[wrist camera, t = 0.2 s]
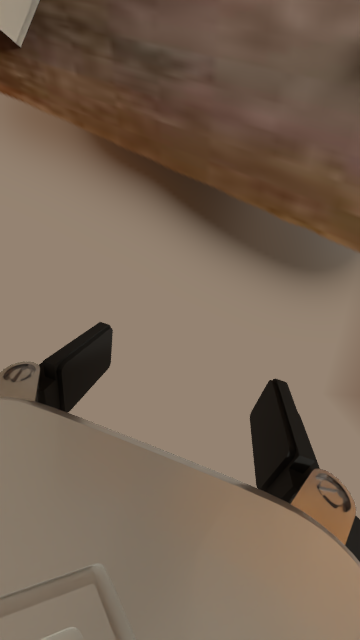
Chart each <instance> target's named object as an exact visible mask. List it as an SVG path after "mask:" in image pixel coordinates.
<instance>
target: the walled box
mask: <svg viewBox="0 0 360 640" xmlns="http://www.w3.org/2000/svg"><path fill="white" fill-rule="evenodd" d="M39 1H40V0H0V30H1V31H2V32H4V33H5V34H6V35H7V36H8V37H9V38H10V39H12V40H13V41H14V42H15V43H16V44H17V45H18V46H20V47H21V45H22V43H23V40H24V38H25V35H26V33H27V30H28V28H29V25H30V23H31V20H32V18H33V16H34V13H35V11H36V8H37V6H38V3H39Z"/></svg>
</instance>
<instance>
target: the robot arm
mask: <svg viewBox="0 0 360 640" xmlns="http://www.w3.org/2000/svg"><path fill="white" fill-rule="evenodd" d="M112 331H113V330H112V328H111V327H110V325H108V324H105V323H102V322H100V323H98V324H97V325H95V326H94V327H92V328H91V329H89V330H88V331H86V332H85V333H83V334H82V335H80V336H79V337H78V338H76V339H74V340H73V341H72V342H70V343H69V344H67V345H66V346H64V347H63V348H61V349H60V350H58V351H57V352H56V353H54V354H53V355H51V356H50V357H48V358H47V359H45V360H44V361H43V362H42V363H41V364H39V365H38V364H36V363H34V362H20V363H16V364H13V365H10V366H8V367H7V368H5V369H4V370H3V371H2V372H1V373H0V640H360V519H359V518H358V517H357V516H356V505H355V502H354V500H353V498H352V496H351V494H350V492H349V491H348V490H347V488H346V487H345V486H344V485H343V484H342V482H341V481H340V480H339V479H338V478H336V477H335V476H334V475H333V474H331V473H329V472H328V471H326V470H323V469H320V468H319V465H318V463H317V460H316V457H315V455H314V452H313V449H312V447H311V444H310V441H309V439H308V436H307V433H306V431H305V428H304V425H303V423H302V420H301V417H300V415H299V414H298V412H297V409H296V406H295V404H294V401H293V399H292V396H291V393H290V390H289V387H288V385H287V383H286V382H284V381H281V380H278V379H273V381H272V380H270V381H269V382H268V384H267V385H266V387H265V389H264V391H263V392H262V394H261V396H260V398H259V399H258V401H257V403H256V405H255V406H254V408H253V410H252V412H251V415H250V423H251V434H252V444H253V456H254V465H255V476H256V485H257V488H258V489H257V488H255V487H252V486H250V485H248V484H245V483H243V482H241V481H238V480H236V479H234V478H231V477H229V476H226V475H224V474H221V473H219V472H216V471H214V470H211V469H209V468H206V467H204V466H201V465H199V464H196V463H194V462H192V461H189V460H186V459H184V458H181V457H179V456H176V455H174V454H172V453H169V452H167V451H164V450H161V449H159V448H156V447H154V446H151V445H149V444H146V443H144V442H141V441H138V440H136V439H133V438H131V437H128V436H126V435H123V434H121V433H119V432H116V431H113V430H111V429H108V428H106V427H103V426H101V425H98V424H95V423H93V422H90V421H88V420H85V419H83V418H80V417H77V416H75V415H72V414H69V413H68V412H69V411H70V410H71V409H72V408H73V407H74V406H75V405H76V404H77V402H78V401H79V400H80V399H81V398H82V397H83V396H84V395H85V394H86V392H87V391H88V390H89V389H90V388H91V387H92V386H93V385H94V384H95V383H96V381H97V380H98V379H99V378H100V377H101V376H102V375H103V374H104V373H105V372H106V370H107V369H108V368H109V366H110V363H111V347H112Z"/></svg>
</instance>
